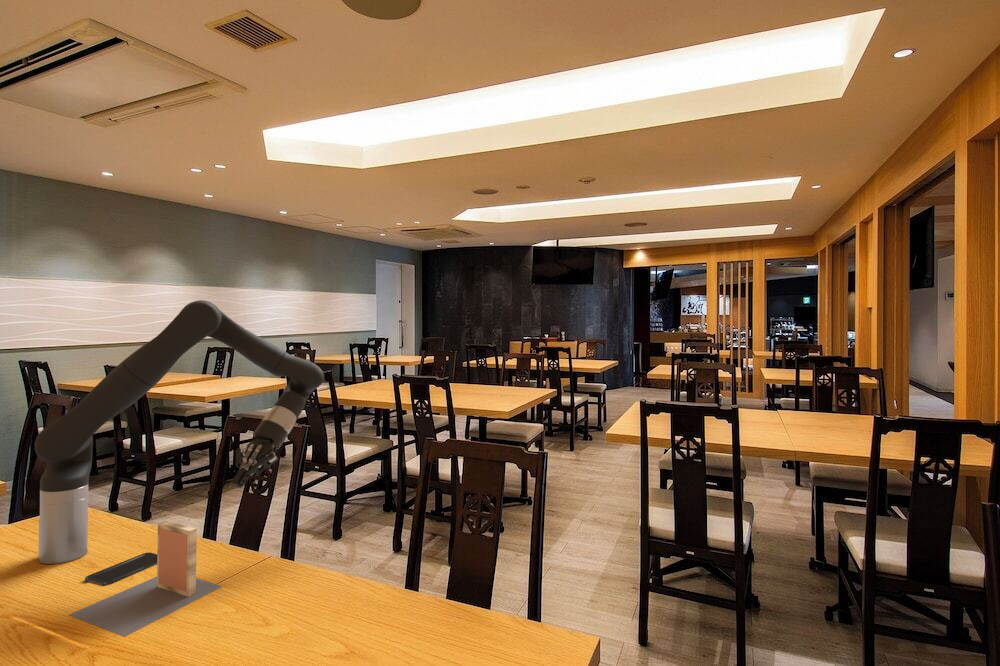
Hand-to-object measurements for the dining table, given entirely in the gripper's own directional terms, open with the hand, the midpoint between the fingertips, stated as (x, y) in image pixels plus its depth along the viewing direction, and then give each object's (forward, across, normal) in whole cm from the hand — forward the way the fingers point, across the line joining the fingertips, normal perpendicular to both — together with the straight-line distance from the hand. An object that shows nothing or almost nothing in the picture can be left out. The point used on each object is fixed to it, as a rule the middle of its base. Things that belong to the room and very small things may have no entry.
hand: (236, 485), depth 131 cm
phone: (+23, -18, +4) cm, 30 cm away
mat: (+28, 0, -2) cm, 28 cm away
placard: (+24, +1, +2) cm, 24 cm away
